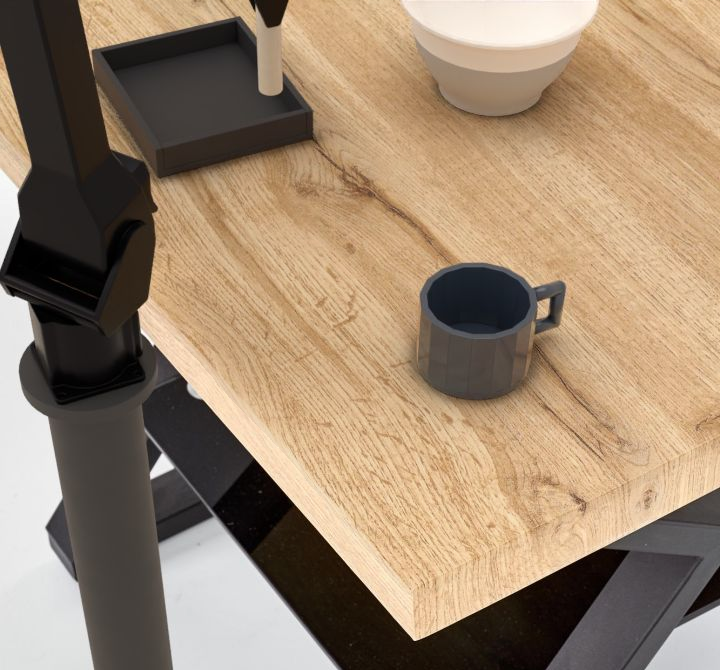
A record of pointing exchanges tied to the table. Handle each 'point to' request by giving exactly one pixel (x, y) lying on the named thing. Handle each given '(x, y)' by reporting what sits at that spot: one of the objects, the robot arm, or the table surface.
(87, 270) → the robot arm
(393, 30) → the table surface
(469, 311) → the mug
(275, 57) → the marker
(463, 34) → the bowl
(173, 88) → the tray
